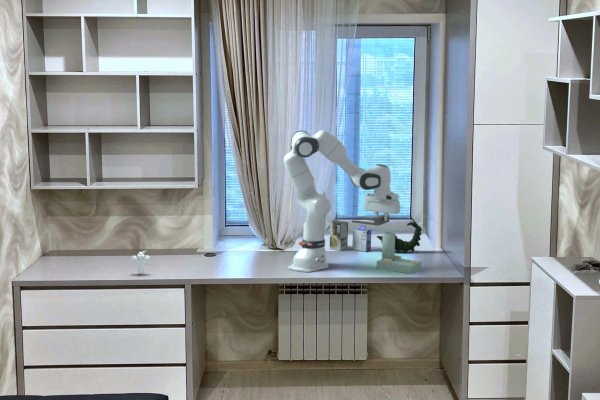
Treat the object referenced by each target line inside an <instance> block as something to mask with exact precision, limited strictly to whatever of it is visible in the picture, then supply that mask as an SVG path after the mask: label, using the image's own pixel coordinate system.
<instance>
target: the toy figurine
mask: <svg viewBox="0 0 600 400" xmlns="http://www.w3.org/2000/svg"><path fill="white" fill-rule="evenodd" d="M406 226H407V227H409V226H412V227H413V228H415V229H414V230H415V231H413V235H412V238H411V239H410V240H403V239H401V238H398V236H397V235H396V234H395V252H396V253H400V252H403V253H404V254H407V253H408V252H409V251H411V252H415V248H416V247H419V246H421V244H420V241H421V239H422V238H421V236H422V230H423V229H422V226H420V225H418V223H416V222H413V221H410V222H409V223H407V224H406ZM376 238H377V239H378V240H380V241H381V243H382V235H377V236H376Z"/></svg>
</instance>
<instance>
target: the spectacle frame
mask: <svg viewBox="0 0 600 400" xmlns="http://www.w3.org/2000/svg"><path fill="white" fill-rule="evenodd" d="M384 217H385V213H383V214H382V215H379V216H378V217H376V216H375V217H374V218H373V217H365V216H364V217H363V216H362V217H361V220H354V219H353V220H351V223H353V224H354V223H355V224H360V225H370V226H377V227H378V226H381V225H384V224H388V223H389V222H390V214H389V215H388V217H387V221H383V218H384ZM362 220H366V221H362ZM371 221H373V222H371Z"/></svg>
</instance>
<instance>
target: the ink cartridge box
mask: <svg viewBox="0 0 600 400" xmlns="http://www.w3.org/2000/svg"><path fill="white" fill-rule="evenodd" d="M351 247H352V250H354V251H360V252H369V251H370V252H371V251H372V229H369V228H367V224H360V226H359V227H356V228H353V229H352V244H351Z"/></svg>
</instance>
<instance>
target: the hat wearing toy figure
mask: <svg viewBox="0 0 600 400" xmlns="http://www.w3.org/2000/svg"><path fill="white" fill-rule="evenodd" d="M146 252H147V249H145V250H142V251H140V252H138V253H137V255H132V257H131V261H134V262H133V264H132V267H133V268H134V267H135V266H136V264H137V273H136V274H137V275H141V274H142V275H145V274H146V270H145V267H146V268H149V266H150V264H149V262H148V261H150V256H149V255H145V253H146Z"/></svg>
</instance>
